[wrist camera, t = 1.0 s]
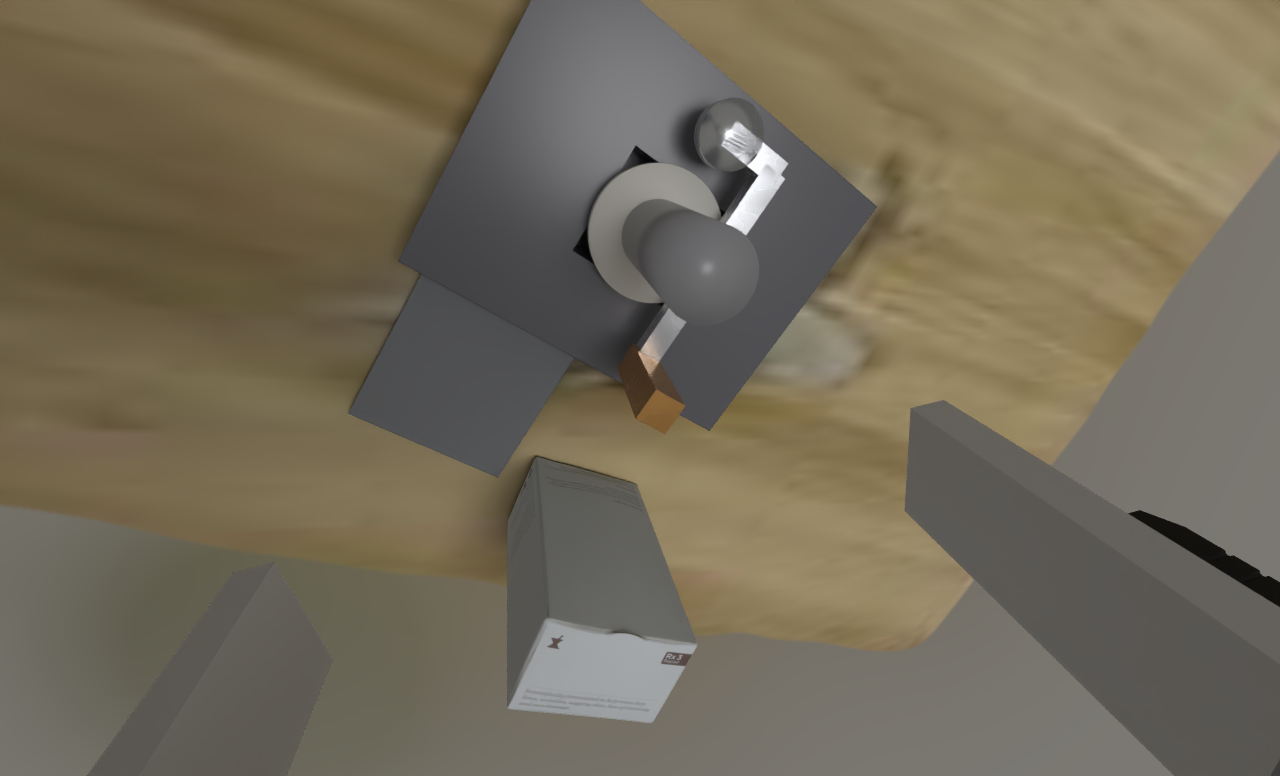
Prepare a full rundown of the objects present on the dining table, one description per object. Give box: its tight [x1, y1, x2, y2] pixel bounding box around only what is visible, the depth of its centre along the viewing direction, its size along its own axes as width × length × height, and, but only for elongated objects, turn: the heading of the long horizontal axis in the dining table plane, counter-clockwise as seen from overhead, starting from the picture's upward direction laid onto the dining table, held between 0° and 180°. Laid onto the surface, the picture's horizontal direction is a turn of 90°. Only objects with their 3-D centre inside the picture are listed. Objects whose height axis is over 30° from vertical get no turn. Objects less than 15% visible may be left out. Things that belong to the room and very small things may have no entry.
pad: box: [348, 274, 574, 477], centre depth 34 cm, size 10×10×1 cm
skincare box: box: [507, 457, 697, 723], centre depth 32 cm, size 8×6×15 cm
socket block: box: [398, 0, 877, 431], centre depth 29 cm, size 20×16×6 cm
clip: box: [617, 98, 788, 434], centre depth 24 cm, size 5×14×6 cm, turn 146°
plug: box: [587, 163, 759, 326], centre depth 25 cm, size 7×7×14 cm
